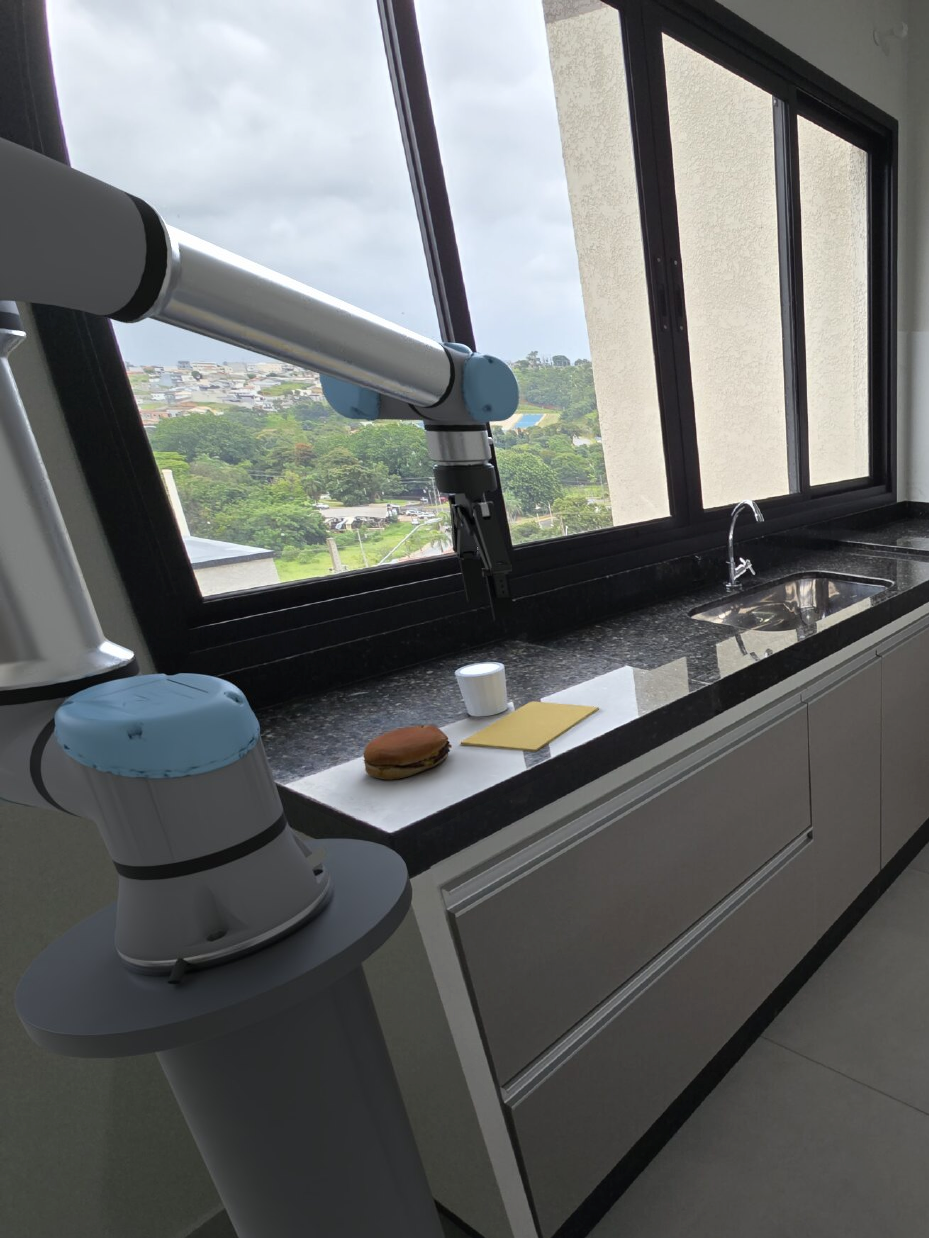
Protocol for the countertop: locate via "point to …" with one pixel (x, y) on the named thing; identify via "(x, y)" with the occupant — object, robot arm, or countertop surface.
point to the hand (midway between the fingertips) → (490, 609)
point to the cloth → (530, 726)
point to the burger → (405, 752)
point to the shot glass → (483, 688)
